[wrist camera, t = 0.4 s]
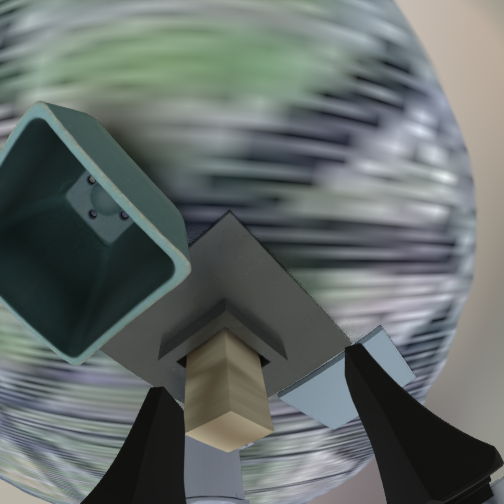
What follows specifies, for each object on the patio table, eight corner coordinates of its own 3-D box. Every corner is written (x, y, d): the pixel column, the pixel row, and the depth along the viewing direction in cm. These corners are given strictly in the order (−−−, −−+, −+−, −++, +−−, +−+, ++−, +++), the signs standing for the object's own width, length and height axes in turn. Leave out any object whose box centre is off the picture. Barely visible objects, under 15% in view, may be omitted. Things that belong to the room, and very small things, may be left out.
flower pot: (205, 201, 19) (198, 271, 10) (116, 280, 20) (75, 371, 12) (114, 99, 15) (36, 94, 7) (35, 195, 17) (-46, 250, 9)
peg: (221, 372, 24) (228, 452, 17) (187, 348, 23) (183, 433, 16) (257, 349, 24) (274, 431, 16) (223, 322, 22) (230, 410, 15)
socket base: (220, 418, 28) (221, 433, 27) (91, 337, 22) (84, 353, 20) (349, 339, 25) (358, 355, 23) (229, 209, 19) (231, 221, 17)
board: (332, 426, 32) (334, 429, 32) (277, 393, 28) (278, 398, 27) (413, 373, 30) (415, 377, 29) (380, 325, 25) (383, 329, 25)
